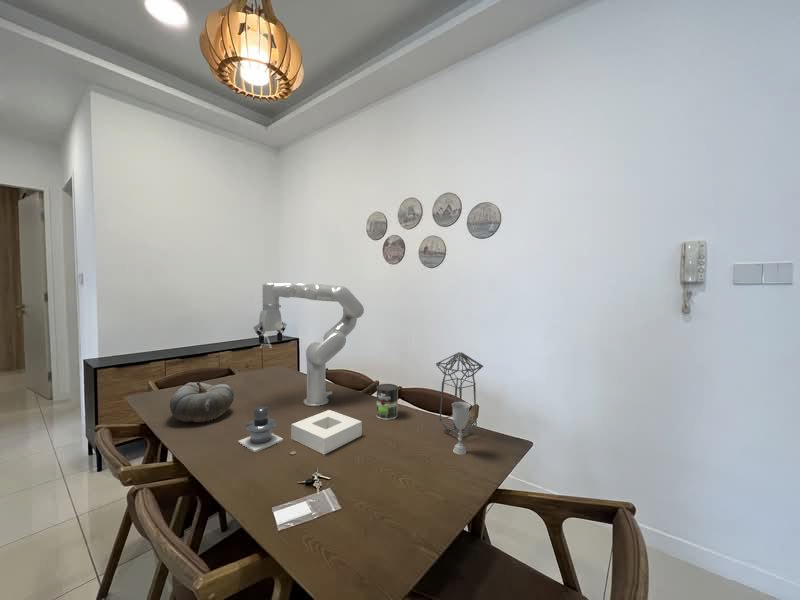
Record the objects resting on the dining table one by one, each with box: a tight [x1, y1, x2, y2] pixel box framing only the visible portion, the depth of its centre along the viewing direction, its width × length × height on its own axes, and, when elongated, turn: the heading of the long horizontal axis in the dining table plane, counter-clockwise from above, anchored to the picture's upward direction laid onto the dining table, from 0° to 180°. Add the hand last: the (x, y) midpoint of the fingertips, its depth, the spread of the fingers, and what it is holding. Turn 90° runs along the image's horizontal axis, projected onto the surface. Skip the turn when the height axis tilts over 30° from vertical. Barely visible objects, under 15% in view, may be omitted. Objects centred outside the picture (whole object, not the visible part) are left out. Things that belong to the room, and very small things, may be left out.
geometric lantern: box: [435, 351, 484, 439], centre depth 143 cm, size 16×16×35 cm
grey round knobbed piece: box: [245, 405, 277, 445], centre depth 132 cm, size 11×11×12 cm
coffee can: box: [375, 383, 399, 421], centre depth 161 cm, size 10×10×14 cm
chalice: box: [451, 401, 471, 455], centre depth 128 cm, size 7×7×18 cm
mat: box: [237, 432, 284, 453], centre depth 133 cm, size 12×12×1 cm
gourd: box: [169, 381, 235, 423], centre depth 155 cm, size 25×25×17 cm
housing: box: [290, 409, 363, 455], centre depth 138 cm, size 20×20×6 cm
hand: (270, 342), depth 165 cm, fingers open, 9 cm apart
